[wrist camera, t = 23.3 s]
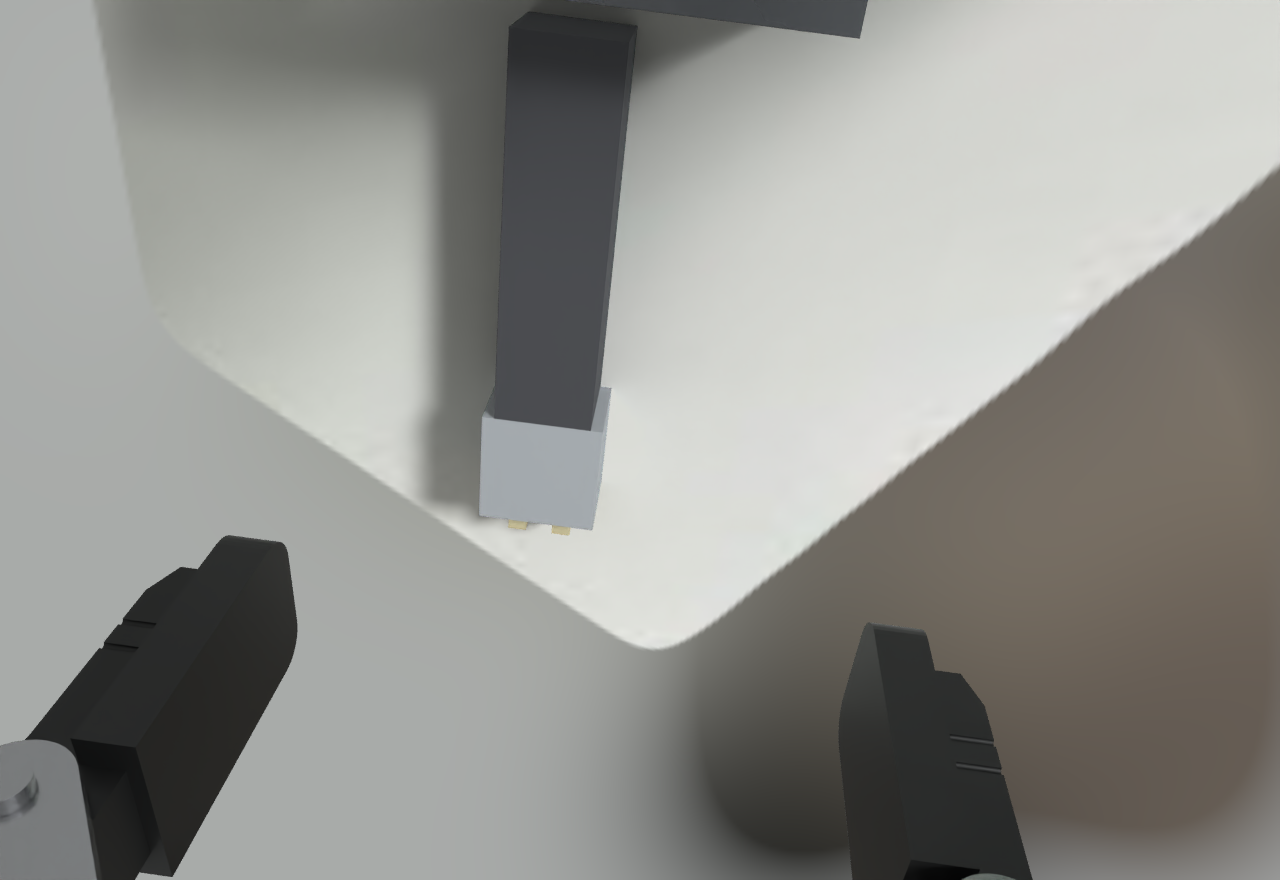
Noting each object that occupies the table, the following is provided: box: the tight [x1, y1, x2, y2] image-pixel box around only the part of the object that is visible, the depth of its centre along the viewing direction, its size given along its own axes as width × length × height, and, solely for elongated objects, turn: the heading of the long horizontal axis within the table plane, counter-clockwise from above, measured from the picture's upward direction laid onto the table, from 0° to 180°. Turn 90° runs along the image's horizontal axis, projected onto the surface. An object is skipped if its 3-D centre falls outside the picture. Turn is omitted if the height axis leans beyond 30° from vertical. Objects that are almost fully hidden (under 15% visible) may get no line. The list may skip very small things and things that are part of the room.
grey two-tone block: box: [479, 12, 637, 535], centre depth 39 cm, size 5×22×4 cm, turn 174°
